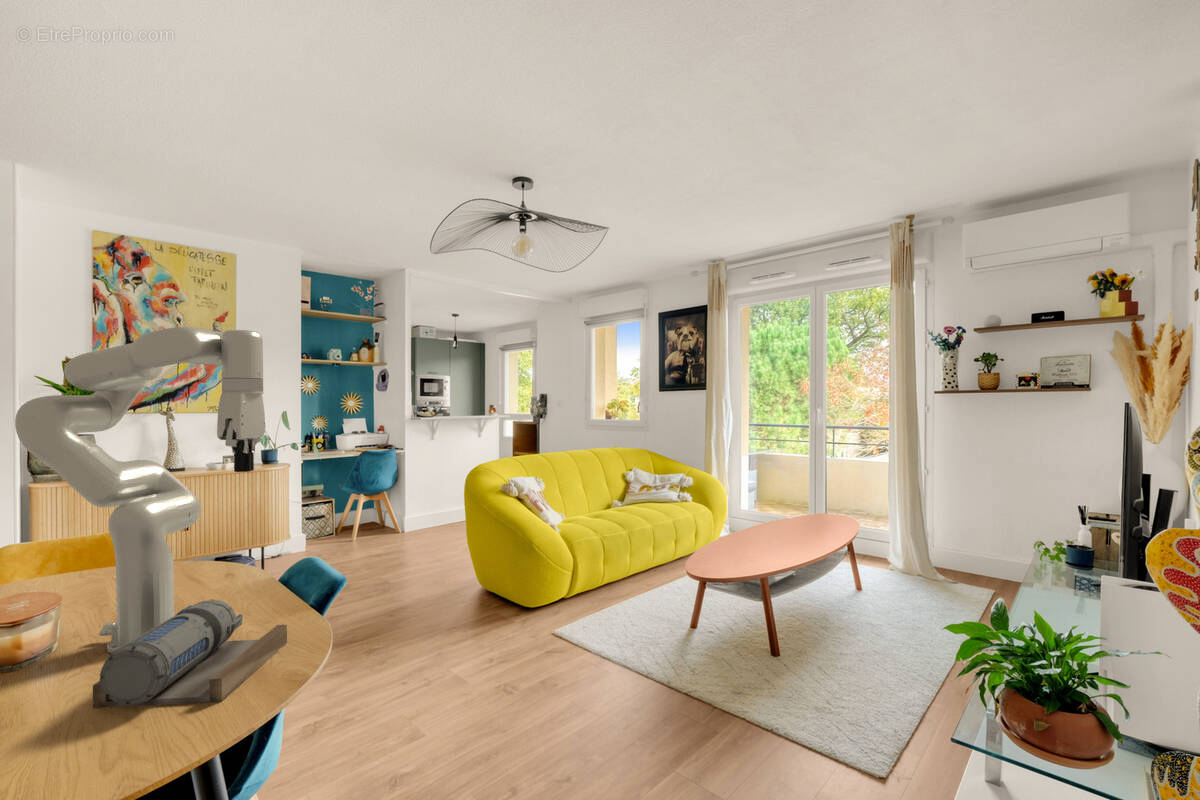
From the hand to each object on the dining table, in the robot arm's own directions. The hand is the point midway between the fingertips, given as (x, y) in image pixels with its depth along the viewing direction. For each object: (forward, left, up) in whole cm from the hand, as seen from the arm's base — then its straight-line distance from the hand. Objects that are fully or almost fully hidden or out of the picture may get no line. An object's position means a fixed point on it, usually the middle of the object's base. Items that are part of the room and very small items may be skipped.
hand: (244, 471), depth 115 cm
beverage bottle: (-5, -27, -31) cm, 41 cm away
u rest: (-1, -13, -37) cm, 39 cm away
